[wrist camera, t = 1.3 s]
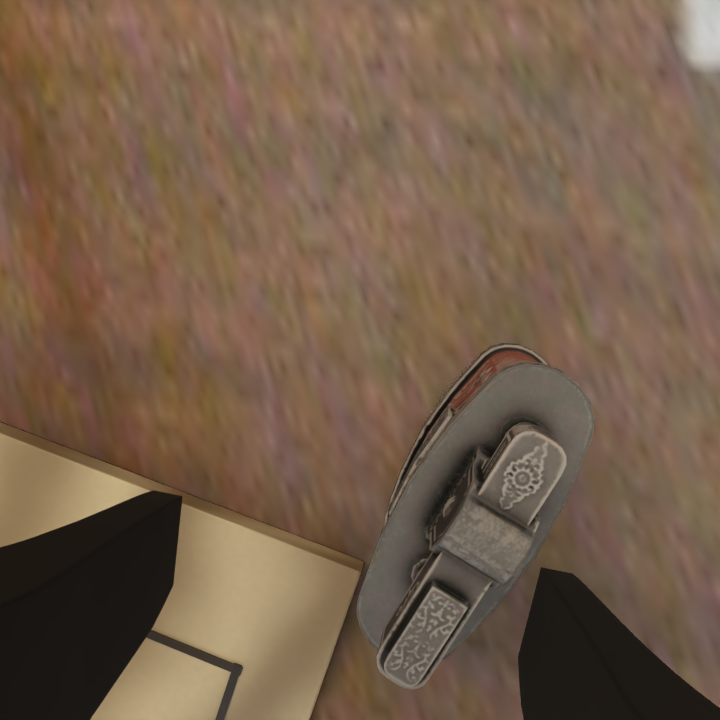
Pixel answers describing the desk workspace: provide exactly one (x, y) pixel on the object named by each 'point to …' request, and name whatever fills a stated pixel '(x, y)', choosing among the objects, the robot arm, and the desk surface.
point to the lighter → (471, 507)
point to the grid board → (198, 594)
